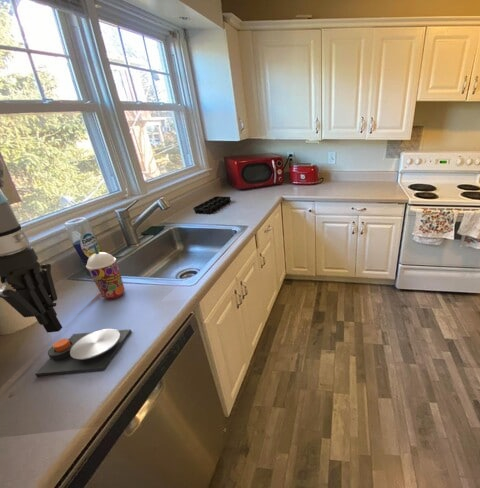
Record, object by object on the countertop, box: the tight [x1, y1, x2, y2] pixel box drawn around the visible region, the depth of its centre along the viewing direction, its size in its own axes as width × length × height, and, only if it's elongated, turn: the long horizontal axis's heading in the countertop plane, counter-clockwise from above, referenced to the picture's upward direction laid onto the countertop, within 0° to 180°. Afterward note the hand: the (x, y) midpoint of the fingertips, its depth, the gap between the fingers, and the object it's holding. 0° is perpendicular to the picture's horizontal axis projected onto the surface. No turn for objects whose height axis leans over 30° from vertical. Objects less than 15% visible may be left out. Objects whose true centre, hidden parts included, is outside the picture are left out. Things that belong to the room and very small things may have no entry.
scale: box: [34, 329, 132, 378], centre depth 77 cm, size 17×14×3 cm
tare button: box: [52, 338, 71, 352], centre depth 76 cm, size 3×3×2 cm
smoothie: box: [85, 245, 126, 300], centre depth 98 cm, size 8×8×20 cm
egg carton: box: [192, 195, 231, 215], centre depth 193 cm, size 18×30×4 cm, turn 1°
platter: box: [70, 328, 120, 360], centre depth 77 cm, size 11×11×1 cm
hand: (54, 329), depth 73 cm, fingers closed
